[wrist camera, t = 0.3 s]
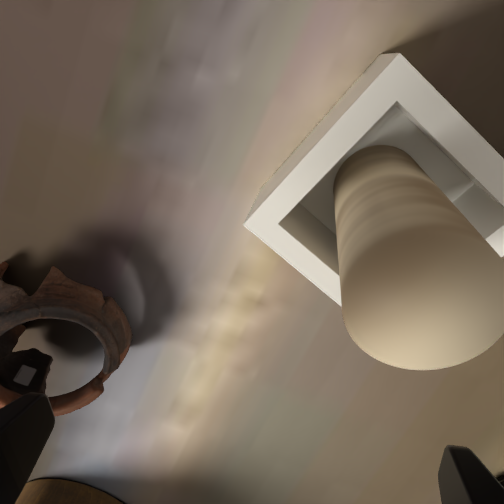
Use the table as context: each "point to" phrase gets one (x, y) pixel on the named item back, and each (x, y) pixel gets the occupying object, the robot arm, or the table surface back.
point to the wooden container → (62, 493)
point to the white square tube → (368, 134)
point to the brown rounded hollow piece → (57, 307)
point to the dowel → (412, 266)
